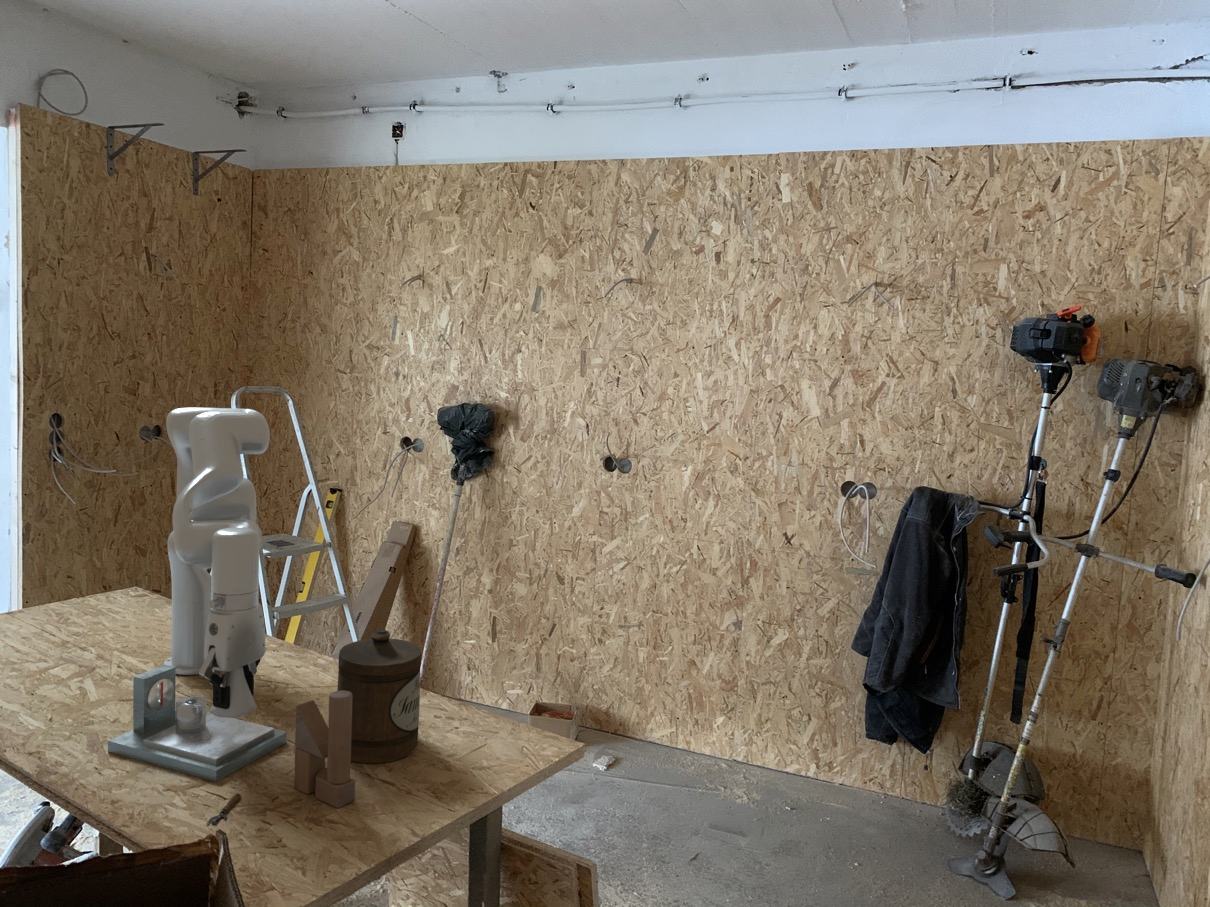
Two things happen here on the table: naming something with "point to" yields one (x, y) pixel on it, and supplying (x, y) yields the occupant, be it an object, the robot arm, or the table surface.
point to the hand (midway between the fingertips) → (233, 700)
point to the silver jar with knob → (190, 715)
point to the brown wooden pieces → (325, 750)
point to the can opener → (225, 809)
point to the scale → (193, 754)
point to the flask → (237, 697)
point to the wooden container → (382, 696)
